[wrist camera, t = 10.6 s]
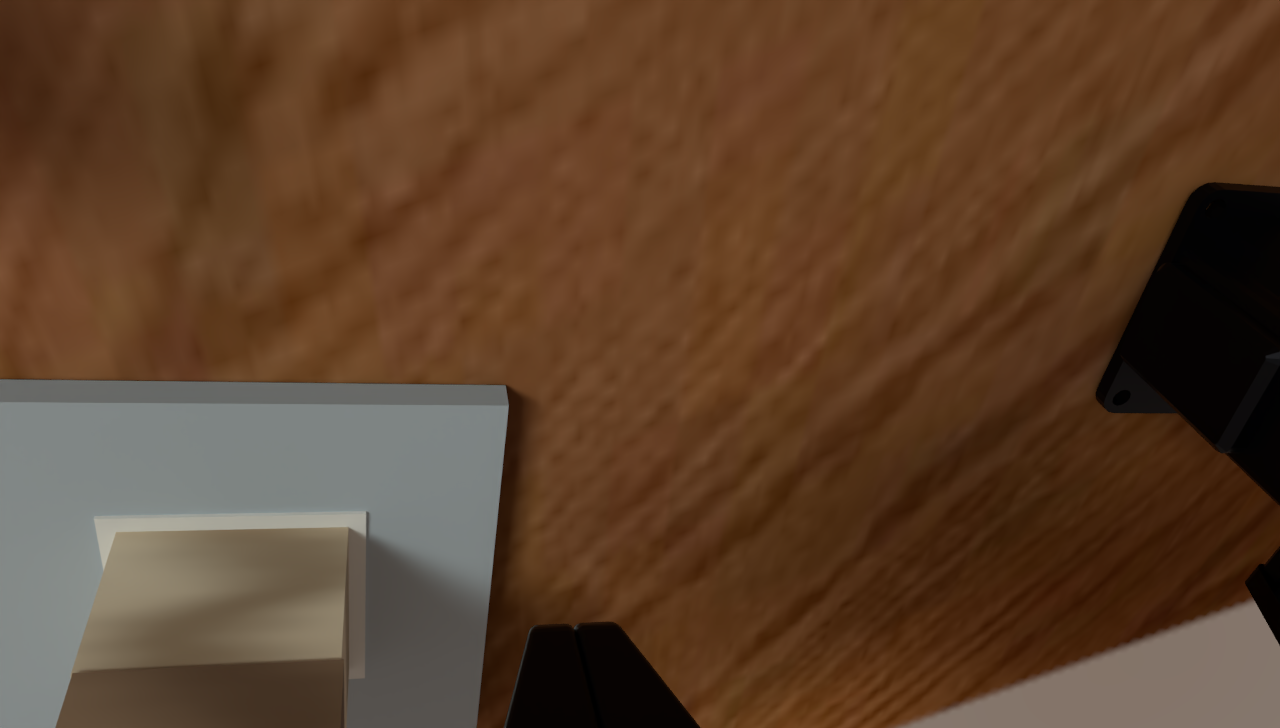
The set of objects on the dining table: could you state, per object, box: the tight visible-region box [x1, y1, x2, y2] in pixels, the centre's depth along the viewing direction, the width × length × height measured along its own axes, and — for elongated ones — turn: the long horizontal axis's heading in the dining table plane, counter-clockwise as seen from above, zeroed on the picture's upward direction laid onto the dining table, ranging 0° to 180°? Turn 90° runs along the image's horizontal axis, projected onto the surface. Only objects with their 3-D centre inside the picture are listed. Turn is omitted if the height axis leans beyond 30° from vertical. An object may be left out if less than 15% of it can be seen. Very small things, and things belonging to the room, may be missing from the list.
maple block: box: [70, 527, 349, 728], centre depth 23 cm, size 5×5×4 cm
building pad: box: [0, 379, 509, 728], centre depth 25 cm, size 12×12×1 cm
